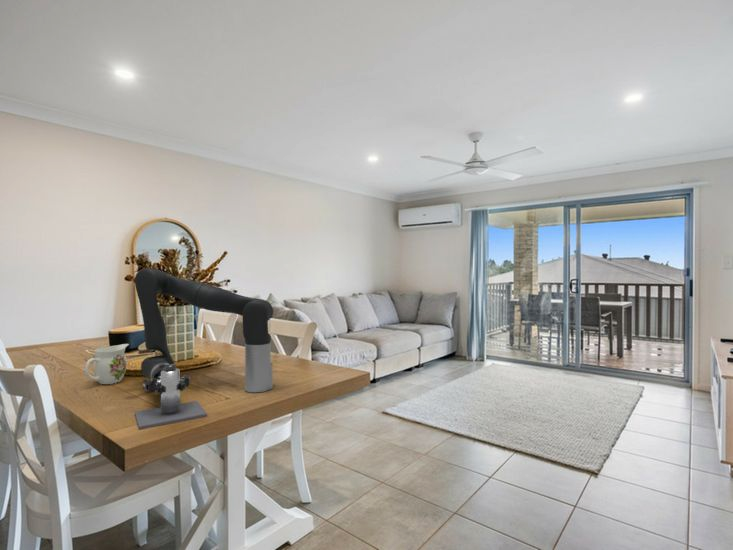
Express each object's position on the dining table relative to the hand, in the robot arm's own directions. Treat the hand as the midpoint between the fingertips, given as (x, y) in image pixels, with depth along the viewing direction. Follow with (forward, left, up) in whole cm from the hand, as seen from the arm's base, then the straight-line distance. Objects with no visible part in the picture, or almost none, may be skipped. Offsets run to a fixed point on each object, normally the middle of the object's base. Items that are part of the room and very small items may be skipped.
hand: (171, 388), depth 120 cm
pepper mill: (0, -3, -7) cm, 7 cm away
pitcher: (+15, -54, -9) cm, 56 cm away
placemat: (0, -3, -9) cm, 9 cm away
